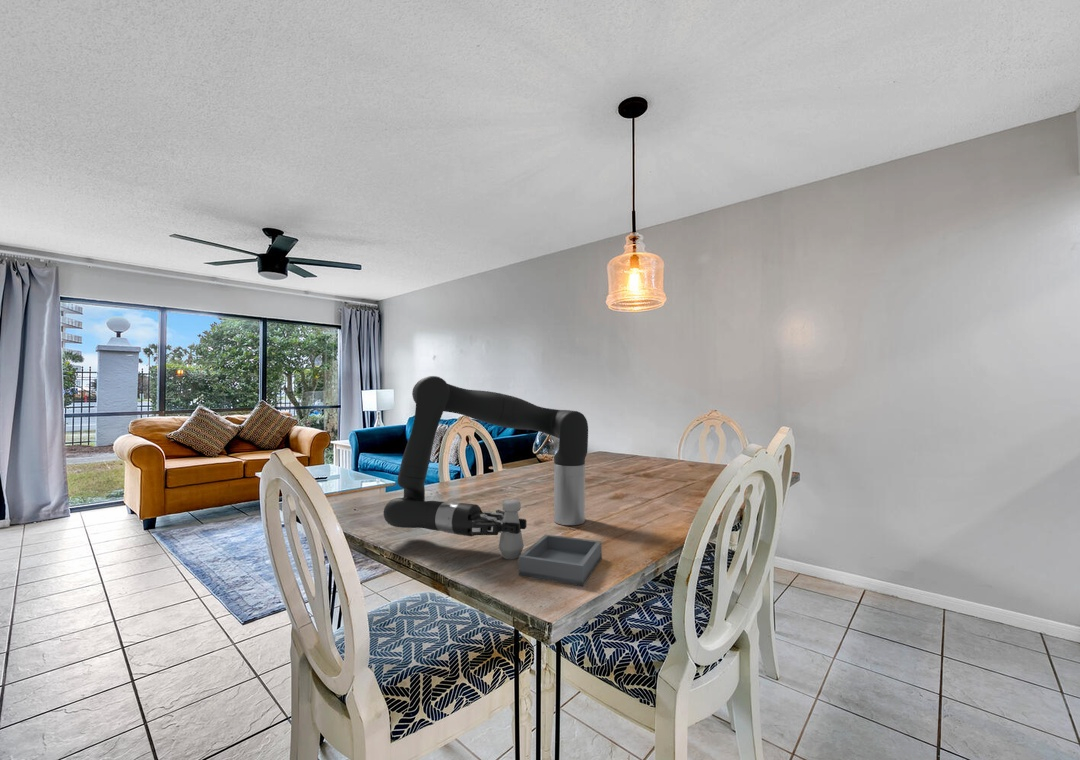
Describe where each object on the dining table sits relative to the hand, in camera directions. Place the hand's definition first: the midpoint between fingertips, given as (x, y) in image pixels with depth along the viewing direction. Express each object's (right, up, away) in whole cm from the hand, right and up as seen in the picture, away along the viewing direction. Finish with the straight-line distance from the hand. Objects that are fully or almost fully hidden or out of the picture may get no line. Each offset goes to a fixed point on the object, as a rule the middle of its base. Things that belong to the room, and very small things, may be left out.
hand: (522, 526), depth 105 cm
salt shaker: (-3, -7, +1) cm, 8 cm away
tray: (+9, -7, -5) cm, 13 cm away
